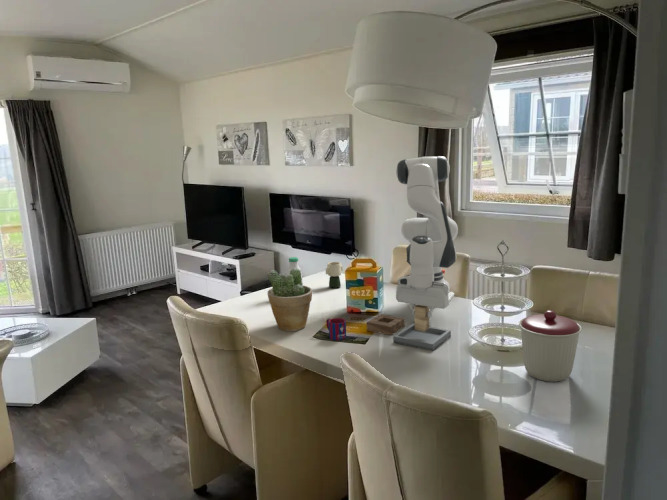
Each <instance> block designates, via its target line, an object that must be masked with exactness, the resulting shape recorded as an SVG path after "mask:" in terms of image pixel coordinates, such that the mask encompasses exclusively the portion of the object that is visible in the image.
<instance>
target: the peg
mask: <svg viewBox="0 0 667 500" xmlns="http://www.w3.org/2000/svg"><path fill="white" fill-rule="evenodd" d="M429 310H430V309H429V306H422V305H415V315H414V324H415V330H418V331H424V332H425V331H426V330H428V329H429V327H430V318H427V317H426V313H427V312H429Z"/></svg>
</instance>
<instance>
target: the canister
mask: <svg viewBox="0 0 667 500" xmlns="http://www.w3.org/2000/svg"><path fill="white" fill-rule="evenodd" d="M518 327H519V328H520V333H521V344H522V345H521V346H522V355H523V357H522V358H523V364H524V365H523V366H524V368H525V371H526V372H527V374H528V375H529V376H531V377H532V378H534V379H536V380H540V381H544V382H551V383H552V382H562V381H565V380H567V379H568V378H569V377H570V376H571V374H572V371H573V368H574V363H575V358H576V353H577V349H578V343H579V339H580V338H579V336H580V334H581V332H582V331H583V328H582V326H581V324H579V323H578V322H576V321H575V320H573V319H571V318H569V317H567V316H562V315H557V313H556V312H555V311H554V310H552V309H551V310H546V311H544V313H540V314H532V315H529V316H525V317H524V318H522V319H520V320H519V321H518Z"/></svg>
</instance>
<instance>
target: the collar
mask: <svg viewBox="0 0 667 500" xmlns="http://www.w3.org/2000/svg"><path fill="white" fill-rule="evenodd" d="M404 328H406V318H405V317H400V316H398V317H397V316H395V315H393V316H392V315H389V314H388V315H387V314H381V313H380V314H379V315H376V316H375V317H373V318H371V319H370V320H368V321H366V330H367V331H368V330H369V331H368V332H373V333H379V334H385V335H388V336H394V334H397V333H398V332H400V330H403V329H404Z"/></svg>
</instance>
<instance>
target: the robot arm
mask: <svg viewBox="0 0 667 500" xmlns="http://www.w3.org/2000/svg"><path fill="white" fill-rule="evenodd" d="M450 172H451V166H450V163H449V161H448V158H447V157H446V156H441V155H438V156H420V157H414V158H413V157H412V158H409V159H407V158H405V159H402V160H400V161H399V162H398V163H397V166H396V169H395V173H396V178H397V180H398V182H399V183H400V184H402V185H406V198H407V204H408V206H409V207H410V208H411V209H412V211H414V212H416V213H418V214H421V215H423V216H425V217H411V218H408V219H405V220H404V221H403V223H402V225H401V235H402V237H403V238H404V239H405V240H406V241H408V242H409V245H408V246H407V247H406V248H405V249H406V263H407V264H408V265H409V266H410V269H409V274H405V275H404V276H401V277H399V278H398V279H397V286H396V290H395V299H396V301H397V302H398V303H404V304H409V307H410V310H411V311H412V316H415V306H417V305H422V306H429V312H427V313H426V317H427V318H429V319H430V318H432V314H433V313H432V312H434V309H435V308H437V309H443V310H444V309H446V308H447V307H448V306H450V305H449V304H450V301H451V300H452V299H453V297H454V296H455V293H454V292H453V291H450V283H449V282H448V281H447V280H445V278H444V275H445V274H446V270H445V269H446V268H447V269H448V268H450V267H451V266H453V265H454V264H455V263H456V260H457V250H456V246H455V244H454V240H455V239H456V238H457V236H458V233H459V226H458V224H457V222H456V220H453V218H451V217H449V215H448V214H447V211H446V207H445V204H444V203H443V202H442V201H441V198H440V189H439V183H440V182H444V181H446V180H447V179H448V178H449V175H450ZM442 268H445V269H442Z"/></svg>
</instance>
